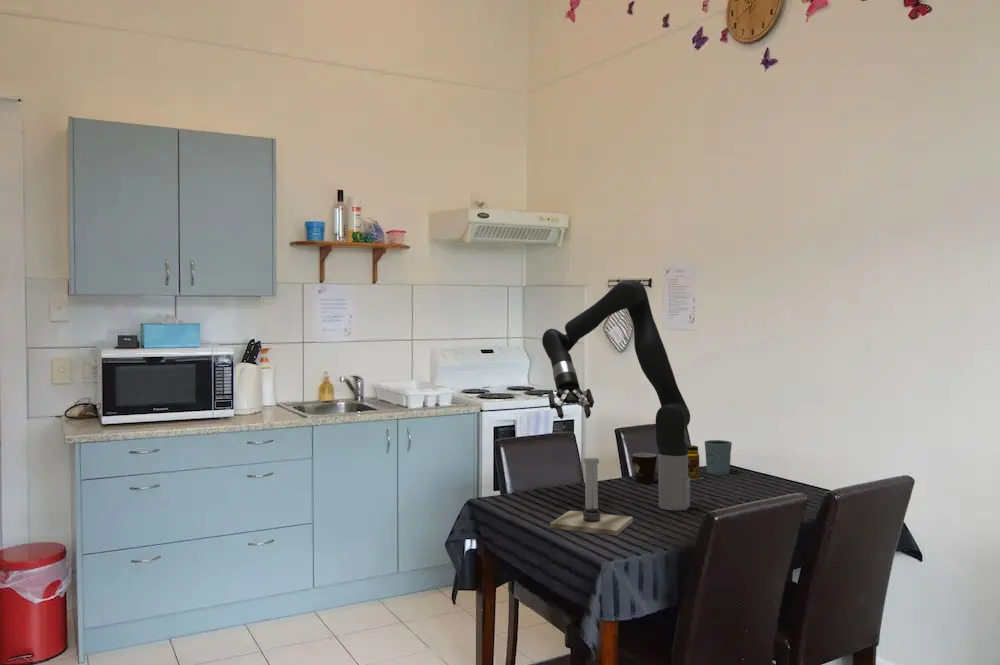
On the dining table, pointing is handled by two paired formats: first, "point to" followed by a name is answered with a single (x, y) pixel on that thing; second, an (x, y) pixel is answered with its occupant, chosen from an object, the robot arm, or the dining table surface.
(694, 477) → the condiment
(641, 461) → the coffee mug
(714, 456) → the teal embossed plant pot
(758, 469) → the dining table surface
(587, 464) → the grey pillar block
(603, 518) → the birch board
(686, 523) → the dining table surface
